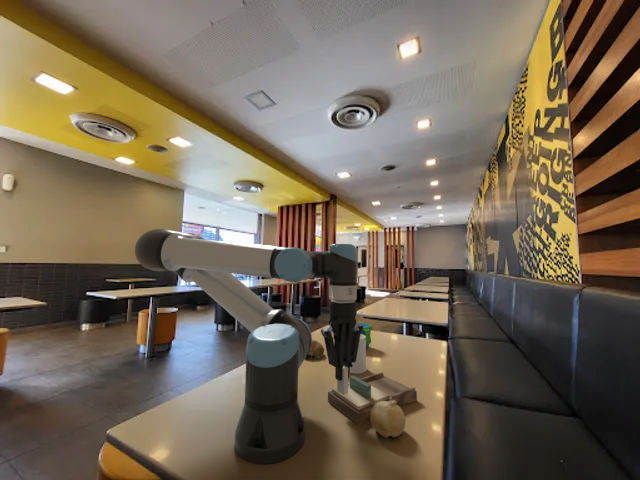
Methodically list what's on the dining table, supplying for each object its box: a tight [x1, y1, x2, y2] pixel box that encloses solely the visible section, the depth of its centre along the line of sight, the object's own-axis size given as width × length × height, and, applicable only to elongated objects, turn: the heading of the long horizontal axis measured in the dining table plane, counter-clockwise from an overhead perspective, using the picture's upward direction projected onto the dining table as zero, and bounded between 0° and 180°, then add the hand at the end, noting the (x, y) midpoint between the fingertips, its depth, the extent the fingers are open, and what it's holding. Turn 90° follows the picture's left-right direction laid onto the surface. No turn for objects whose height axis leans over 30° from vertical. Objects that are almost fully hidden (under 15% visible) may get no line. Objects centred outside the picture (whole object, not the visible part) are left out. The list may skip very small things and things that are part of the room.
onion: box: [370, 396, 406, 439], centre depth 62 cm, size 8×8×7 cm
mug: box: [350, 334, 367, 375], centre depth 97 cm, size 12×8×12 cm
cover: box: [331, 375, 389, 410], centre depth 73 cm, size 11×11×4 cm
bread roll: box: [305, 339, 325, 360], centre depth 112 cm, size 10×10×8 cm
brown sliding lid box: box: [327, 372, 418, 426], centre depth 75 cm, size 22×13×4 cm, turn 123°
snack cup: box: [357, 322, 373, 349], centre depth 124 cm, size 16×10×10 cm
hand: (342, 391), depth 70 cm, fingers closed
